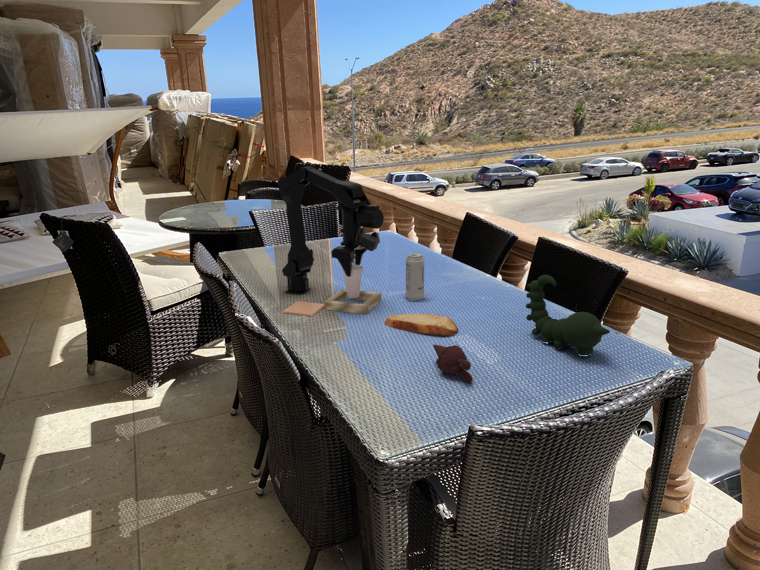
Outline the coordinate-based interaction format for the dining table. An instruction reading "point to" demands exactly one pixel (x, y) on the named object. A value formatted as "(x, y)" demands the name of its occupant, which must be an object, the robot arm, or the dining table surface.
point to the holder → (338, 305)
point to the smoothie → (354, 281)
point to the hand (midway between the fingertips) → (352, 273)
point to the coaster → (304, 308)
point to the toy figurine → (563, 322)
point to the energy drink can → (415, 277)
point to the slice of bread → (423, 324)
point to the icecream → (453, 361)
